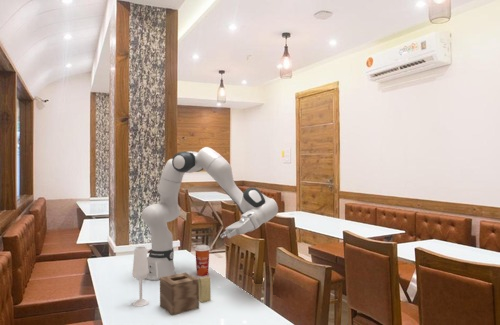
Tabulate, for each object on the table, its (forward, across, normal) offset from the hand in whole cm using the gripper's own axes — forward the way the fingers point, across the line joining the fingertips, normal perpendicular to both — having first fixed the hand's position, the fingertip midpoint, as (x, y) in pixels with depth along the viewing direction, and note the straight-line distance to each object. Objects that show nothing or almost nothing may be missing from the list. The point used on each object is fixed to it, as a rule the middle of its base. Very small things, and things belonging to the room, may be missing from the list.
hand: (224, 236), depth 169 cm
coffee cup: (+9, -42, +18) cm, 46 cm away
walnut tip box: (+31, -1, +16) cm, 34 cm away
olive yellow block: (+20, -4, +20) cm, 29 cm away
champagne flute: (+43, -12, +8) cm, 45 cm away
